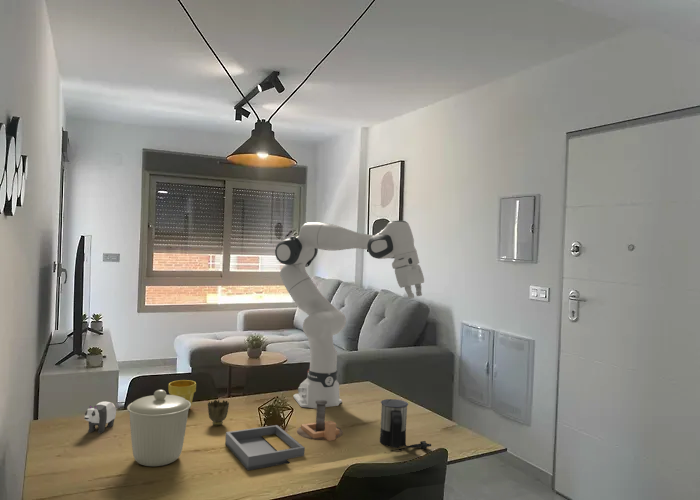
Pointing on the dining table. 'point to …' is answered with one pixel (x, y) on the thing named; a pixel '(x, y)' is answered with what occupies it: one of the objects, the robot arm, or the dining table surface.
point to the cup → (218, 411)
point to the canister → (158, 428)
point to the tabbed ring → (328, 433)
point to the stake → (318, 422)
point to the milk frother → (395, 425)
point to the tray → (261, 447)
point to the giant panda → (100, 416)
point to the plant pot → (183, 389)
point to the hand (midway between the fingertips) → (415, 297)
